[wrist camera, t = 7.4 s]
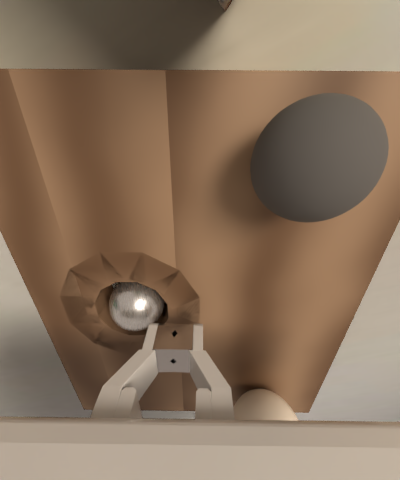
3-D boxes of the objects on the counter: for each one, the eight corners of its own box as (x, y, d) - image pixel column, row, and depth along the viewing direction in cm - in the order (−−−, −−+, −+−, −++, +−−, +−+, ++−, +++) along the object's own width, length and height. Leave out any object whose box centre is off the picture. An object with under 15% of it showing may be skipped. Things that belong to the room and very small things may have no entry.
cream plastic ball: (293, 375, 16) (329, 468, 11) (281, 409, 18) (307, 498, 14) (228, 374, 16) (238, 467, 11) (224, 408, 18) (231, 497, 14)
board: (407, 86, 10) (469, 72, 7) (296, 382, 20) (308, 412, 18) (-13, 84, 10) (-76, 68, 8) (96, 379, 21) (84, 409, 18)
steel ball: (170, 289, 12) (107, 310, 11) (173, 330, 14) (118, 352, 12) (153, 260, 15) (101, 273, 13) (157, 297, 17) (111, 312, 15)
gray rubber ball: (350, 103, 8) (470, 77, 4) (321, 204, 10) (391, 242, 6) (246, 103, 8) (283, 75, 4) (237, 203, 10) (258, 241, 6)
